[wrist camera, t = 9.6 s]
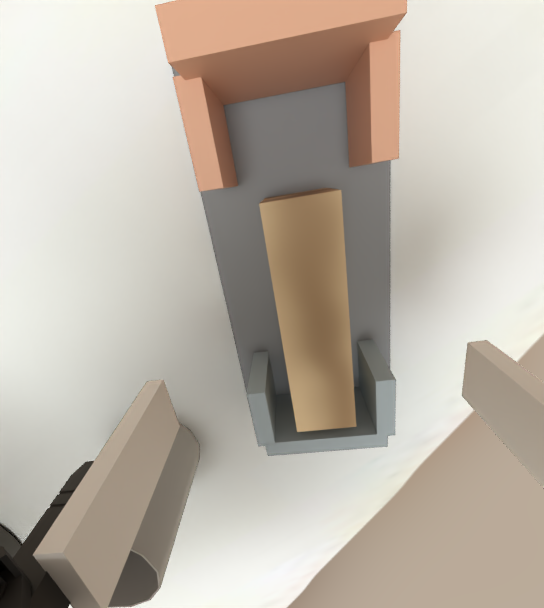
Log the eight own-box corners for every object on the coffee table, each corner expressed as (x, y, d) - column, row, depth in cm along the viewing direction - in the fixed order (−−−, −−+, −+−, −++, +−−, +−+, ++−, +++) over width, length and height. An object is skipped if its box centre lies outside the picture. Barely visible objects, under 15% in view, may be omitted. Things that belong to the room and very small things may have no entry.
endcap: (219, 189, 19) (186, 193, 12) (196, 75, 16) (141, 8, 10) (369, 164, 18) (417, 154, 11) (366, 41, 16) (424, -57, 9)
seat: (252, 414, 26) (245, 467, 22) (172, 61, 17) (125, 11, 12) (388, 402, 25) (413, 454, 20) (388, 16, 16) (436, -60, 11)
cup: (160, 400, 26) (94, 519, 17) (217, 456, 29) (186, 587, 20) (96, 437, 28) (6, 561, 19) (154, 487, 31) (99, 618, 22)
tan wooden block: (294, 385, 25) (297, 432, 20) (264, 198, 19) (258, 203, 14) (342, 379, 24) (356, 426, 20) (326, 187, 19) (341, 190, 14)
